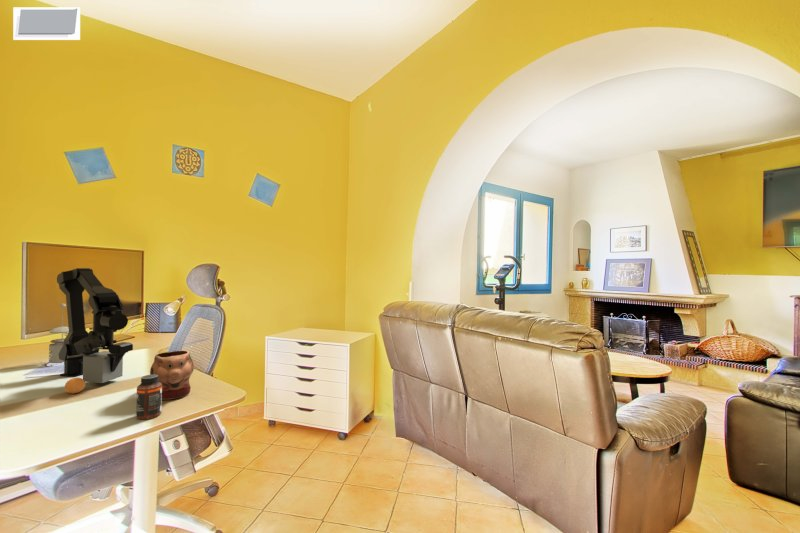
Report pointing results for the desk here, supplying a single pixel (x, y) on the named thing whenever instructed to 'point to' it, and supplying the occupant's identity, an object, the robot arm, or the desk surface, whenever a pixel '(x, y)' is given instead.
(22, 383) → the desk surface
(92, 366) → the gray cube
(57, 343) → the french press
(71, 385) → the brown egg
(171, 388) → the decorative planter
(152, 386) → the supplement bottle
